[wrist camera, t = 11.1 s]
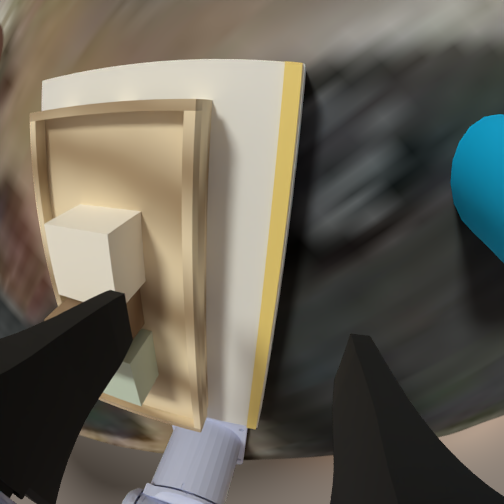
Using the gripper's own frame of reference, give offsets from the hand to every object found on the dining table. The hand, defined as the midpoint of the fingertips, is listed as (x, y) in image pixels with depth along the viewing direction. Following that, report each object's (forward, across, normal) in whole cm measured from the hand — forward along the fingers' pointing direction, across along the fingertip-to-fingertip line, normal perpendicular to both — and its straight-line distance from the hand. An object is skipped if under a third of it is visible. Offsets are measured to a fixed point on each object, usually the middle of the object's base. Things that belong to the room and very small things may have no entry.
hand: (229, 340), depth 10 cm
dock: (+10, +7, +4) cm, 13 cm away
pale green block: (+6, +8, +8) cm, 13 cm away
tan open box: (+8, +8, +4) cm, 12 cm away
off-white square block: (+6, +8, 0) cm, 10 cm away
